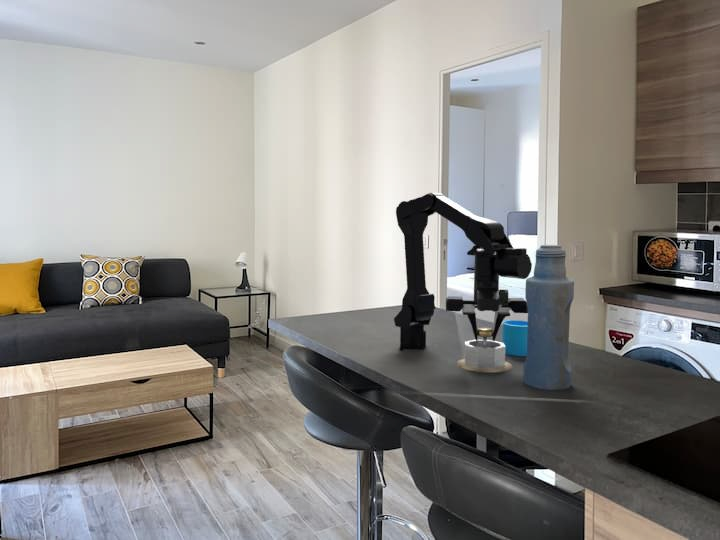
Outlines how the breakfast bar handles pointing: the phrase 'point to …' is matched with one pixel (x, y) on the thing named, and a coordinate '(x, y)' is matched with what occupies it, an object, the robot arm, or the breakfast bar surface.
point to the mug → (515, 337)
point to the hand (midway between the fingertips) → (484, 340)
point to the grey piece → (484, 355)
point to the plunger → (485, 334)
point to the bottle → (548, 321)
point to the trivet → (462, 365)
